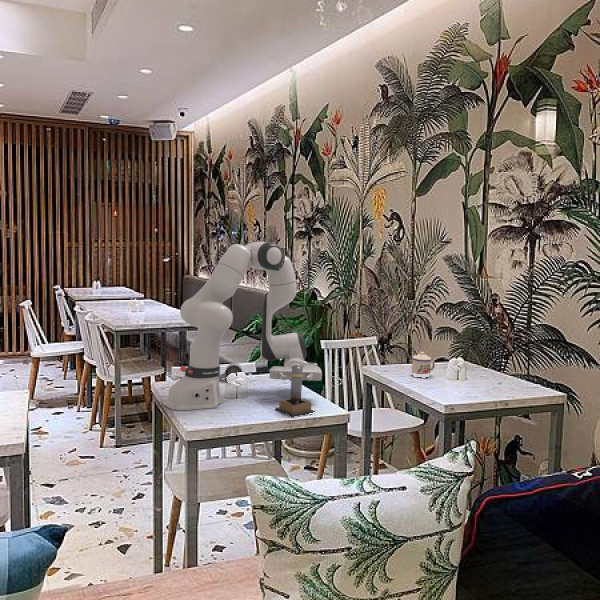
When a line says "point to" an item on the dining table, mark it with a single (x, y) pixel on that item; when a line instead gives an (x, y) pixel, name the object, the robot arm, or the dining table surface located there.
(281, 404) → the stove collar
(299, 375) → the air tube
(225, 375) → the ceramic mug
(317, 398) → the dining table surface
